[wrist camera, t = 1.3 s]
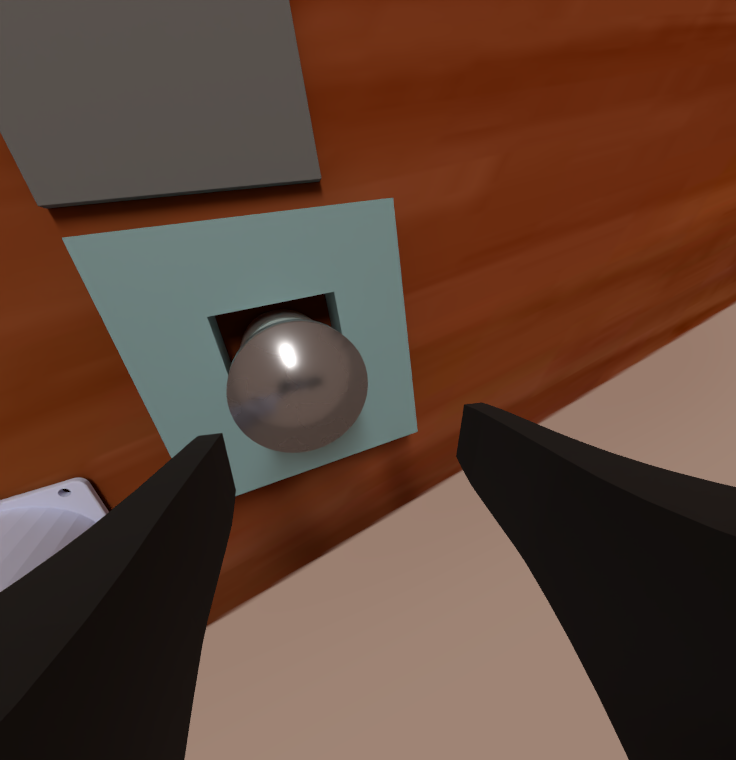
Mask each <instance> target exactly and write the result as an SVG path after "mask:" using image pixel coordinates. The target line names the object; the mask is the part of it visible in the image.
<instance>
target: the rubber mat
mask: <svg viewBox="0 0 736 760" xmlns="http://www.w3.org/2000/svg"><path fill="white" fill-rule="evenodd" d="M0 132H1V134H2V136H3V138H4V140H5V142H6V144H7V146H8V148H9V150H10V152H11V154H12V156H13V158H14V160H15V162H16V164H17V165H18V167H19V169H20V171H21V173H22V175H23V177H24V179H25V181H26V183H27V185H28V187H29V189H30V191H31V193H32V195H33V197H34V199H35V201H36V203H37V205H38V206H40V207H44V208H56V207H66V206H76V205H86V204H97V203H107V202H117V201H127V200H137V199H147V198H157V197H168V196H178V195H188V194H198V193H208V192H218V191H229V190H239V189H249V188H259V187H269V186H279V185H289V184H300V183H310V182H319V181H320V180H321V174H320V169H319V163H318V158H317V152H316V147H315V141H314V136H313V130H312V125H311V119H310V114H309V108H308V103H307V97H306V92H305V86H304V81H303V75H302V70H301V64H300V59H299V53H298V48H297V42H296V37H295V31H294V26H293V20H292V15H291V9H290V4H289V0H0Z"/></svg>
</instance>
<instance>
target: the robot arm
mask: <svg viewBox="0 0 736 760" xmlns="http://www.w3.org/2000/svg"><path fill="white" fill-rule="evenodd" d="M456 457H457V459H458V461H459V463H460V465H461V467H462V469H463V471H464V473H465V475H466V476H467V478H468V480H469V482H470V484H471V485H472V487H473V488H474V490H475V491H476V492H477V494H478V495H479V497H480V498H481V500H482V501H483V502H484V504H485V505H486V507H487V508H488V509H489V511H490V512H491V514H492V515H493V516H494V518H495V519H496V521H497V522H498V523H499V525H500V526H501V528H502V529H503V530H504V532H505V533H506V535H507V536H508V537H509V539H510V540H511V542H512V543H513V544H514V546H515V547H516V549H517V550H518V552H519V553H520V555H521V556H522V558H523V559H524V561H525V562H526V564H527V566H528V567H529V569H530V571H531V572H532V574H533V576H534V578H535V579H536V581H537V582H538V584H539V586H540V588H541V589H542V591H543V593H544V595H545V596H546V598H547V600H548V601H549V603H550V605H551V607H552V609H553V611H554V612H555V614H556V616H557V618H558V620H559V621H560V623H561V625H562V627H563V629H564V631H565V632H566V634H567V636H568V638H569V640H570V642H571V643H572V645H573V647H574V649H575V651H576V653H577V655H578V657H579V659H580V661H581V663H582V665H583V667H584V669H585V670H586V673H587V675H588V676H589V678H590V680H591V682H592V684H593V686H594V688H595V690H596V692H597V694H598V696H599V698H600V700H601V702H602V704H603V706H604V708H605V711H606V712H607V715H608V717H609V719H610V721H611V723H612V725H613V727H614V729H615V732H616V734H617V736H618V738H619V740H620V742H621V744H622V746H623V748H624V750H625V752H626V754H627V757H628V759H629V760H736V487H733V486H728V485H724V484H719V483H715V482H712V481H707V480H704V479H700V478H696V477H692V476H688V475H684V474H680V473H677V472H673V471H669V470H666V469H662V468H659V467H655V466H652V465H648V464H645V463H642V462H639V461H636V460H632V459H629V458H626V457H623V456H620V455H616V454H614V453H611V452H608V451H605V450H602V449H599V448H597V447H594V446H591V445H589V444H586V443H583V442H580V441H578V440H575V439H572V438H570V437H567V436H564V435H562V434H560V433H557V432H554V431H552V430H550V429H547V428H545V427H543V426H540V425H538V424H535V423H533V422H531V421H528V420H526V419H524V418H521V417H519V416H516V415H514V414H512V413H509V412H507V411H504V410H502V409H499V408H496V407H494V406H491V405H488V404H485V403H474V404H466V405H464V410H463V416H462V423H461V429H460V435H459V442H458V448H457V455H456ZM62 489H69V490H70V491H71V492H65V491H63V490H62ZM235 495H236V488H235V484H234V480H233V475H232V471H231V467H230V463H229V459H228V454H227V450H226V446H225V442H224V438H223V434H222V433H217V434H209V435H200V436H197V437H196V438H195V439H193V440H192V441H191V442H190V443H189V444H187V445H186V446H185V447H184V448H183V449H182V450H181V451H180V452H178V453H177V454H176V455H175V456H174V457H173V458H172V459H171V460H170V461H168V462H167V463H166V464H165V465H164V466H163V467H162V468H161V469H159V470H158V471H157V472H156V473H155V474H154V475H153V476H151V477H150V478H149V479H148V480H147V481H146V482H145V483H143V484H142V485H141V486H140V487H139V488H138V489H137V490H135V491H134V492H133V493H132V494H131V495H129V496H128V497H127V498H126V499H124V500H123V501H122V502H121V503H120V504H118V505H117V506H116V507H115V508H113V509H112V510H111V511H110V512H109V511H108V510H107V508H106V507H105V505H104V503H103V502H102V500H101V499H100V497H99V496H98V494H97V493H96V491H95V490H94V488H93V487H92V485H91V484H90V482H89V481H88V480H87V479H84V478H73V479H70V480H66V481H63V482H60V483H56V484H53V485H50V486H46V487H43V488H40V489H36V490H33V491H30V492H26V493H23V494H19V495H16V496H13V497H9V498H6V499H3V500H0V760H184V758H185V751H186V745H187V737H188V731H189V724H190V717H191V711H192V704H193V697H194V692H195V686H196V680H197V674H198V667H199V662H200V656H201V650H202V644H203V639H204V634H205V630H206V625H207V621H208V616H209V613H210V609H211V605H212V601H213V597H214V593H215V589H216V585H217V581H218V578H219V574H220V570H221V566H222V562H223V558H224V554H225V550H226V546H227V542H228V538H229V534H230V530H231V526H232V519H233V512H234V504H235Z"/></svg>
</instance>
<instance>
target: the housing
mask: <svg viewBox="0 0 736 760" xmlns="http://www.w3.org/2000/svg"><path fill="white" fill-rule="evenodd" d="M62 240H63V242H64V244H65V246H66V248H67V250H68V252H69V254H70V256H71V258H72V260H73V262H74V264H75V266H76V268H77V270H78V272H79V274H80V276H81V278H82V280H83V282H84V284H85V286H86V288H87V290H88V292H89V294H90V296H91V298H92V300H93V302H94V304H95V306H96V308H97V310H98V312H99V314H100V316H101V318H102V320H103V322H104V324H105V326H106V328H107V330H108V332H109V334H110V336H111V338H112V340H113V342H114V344H115V346H116V348H117V350H118V352H119V354H120V356H121V358H122V360H123V362H124V364H125V366H126V368H127V370H128V372H129V374H130V376H131V378H132V380H133V382H134V384H135V386H136V388H137V390H138V392H139V394H140V396H141V398H142V400H143V402H144V404H145V406H146V408H147V410H148V412H149V414H150V416H151V418H152V420H153V422H154V424H155V426H156V428H157V430H158V432H159V434H160V436H161V438H162V440H163V442H164V444H165V446H166V448H167V450H168V452H169V454H170V456H171V458H173V457H174V456H175V455H176V454H177V453H178V452H180V451H181V450H182V449H183V448H184V447H185V446H186V445H187V444H189V443H190V442H191V441H192V440H193V439H195V438H196V437H197V436H200V435H209V434H217V433H222V434H223V438H224V442H225V446H226V450H227V454H228V459H229V463H230V467H231V471H232V475H233V480H234V484H235V488H236V495H235V496H237V495H240V494H243V493H246V492H249V491H251V490H254V489H257V488H260V487H263V486H266V485H268V484H271V483H274V482H277V481H280V480H283V479H285V478H288V477H291V476H294V475H297V474H299V473H302V472H305V471H308V470H311V469H314V468H316V467H319V466H322V465H325V464H328V463H330V462H333V461H336V460H339V459H342V458H345V457H347V456H350V455H353V454H356V453H359V452H362V451H364V450H367V449H370V448H373V447H376V446H378V445H381V444H384V443H387V442H390V441H393V440H395V439H398V438H401V437H404V436H407V435H410V434H412V433H415V432H418V431H417V422H416V412H415V403H414V393H413V384H412V374H411V365H410V355H409V346H408V336H407V327H406V317H405V308H404V298H403V289H402V279H401V269H400V260H399V250H398V241H397V231H396V222H395V212H394V203H393V198H387V199H379V200H370V201H362V202H354V203H346V204H337V205H329V206H321V207H312V208H304V209H296V210H288V211H279V212H271V213H263V214H255V215H246V216H238V217H230V218H222V219H213V220H205V221H197V222H189V223H180V224H172V225H164V226H156V227H147V228H139V229H131V230H123V231H114V232H106V233H98V234H89V235H81V236H73V237H65V238H62ZM320 294H325V297H326V302H327V307H328V312H329V317H330V322H331V327H332V328H333V329H335V330H337V331H338V332H340V333H341V334H342V335H344V336H345V337H346V338H347V339H348V340H349V341H350V342H351V343H352V344H353V345H354V346H355V347H356V349H357V350H358V351H359V353H360V355H361V357H362V358H363V361H364V364H365V366H366V371H367V377H368V391H367V397H366V400H365V404H364V406H363V409H362V411H361V413H360V415H359V416H358V418H357V420H356V421H355V422H354V424H353V425H352V426H351V427H350V428H349V429H348V430H347V431H346V432H345V433H344V434H343V435H342V436H341V437H339V438H338V439H336V440H335V441H333V442H332V443H330V444H328V445H326V446H323V447H321V448H318V449H315V450H311V451H307V452H299V453H287V452H279V451H274V450H271V449H268V448H265V447H263V446H261V445H259V444H257V443H256V442H254V441H252V440H251V439H250V438H249V437H247V436H246V435H245V434H244V433H243V432H242V431H241V430H240V428H239V427H238V426H237V424H236V423H235V421H234V419H233V417H232V415H231V413H230V410H229V407H228V403H227V395H226V391H227V380H228V375H229V370H230V367H231V361H230V358H229V355H228V352H227V350H226V347H225V344H224V341H223V338H222V335H221V333H220V330H219V327H218V324H217V321H216V318H215V315H220V314H225V313H230V312H235V311H240V310H245V309H250V308H255V307H260V306H265V305H270V304H275V303H280V302H285V301H290V300H295V299H300V298H305V297H310V296H315V295H320Z"/></svg>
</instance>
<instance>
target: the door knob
mask: <svg viewBox="0 0 736 760" xmlns="http://www.w3.org/2000/svg"><path fill="white" fill-rule="evenodd" d="M367 391H368V377H367V371H366V366H365V364H364V361H363V358H362V357H361V355H360V353H359V351H358V350H357V349H356V347H355V346H354V345H353V344H352V343H351V342H350V341H349V340H348V339H347V338H346V337H345V336H344V335H342V334H341V333H340V332H338V331H337V330H335V329H333V328H332V327H330V326H328V325H326V324H323V323H321V322H317V321H313V320H312V319H310V318H309V317H308V316H306V315H304V314H303V313H300V312H298V311H294V310H290V309H276V310H271V311H268V312H265V313H263V314H261V315H260V316H258V317H257V318H255V319H254V320H253V321H252V322H251V323H250V324H249V325H248V327H247V328H246V330H245V332H244V334H243V337H242V340H241V346H240V349H239V350H238V352H237V353H236V355H235V357H234V359H233V361H232V364H231V367H230V370H229V375H228V380H227V391H226V395H227V403H228V407H229V410H230V413H231V415H232V417H233V419H234V421H235V423H236V424H237V426H238V427H239V428H240V430H241V431H242V432H243V433H244V434H245V435H246V436H247V437H249V438H250V439H251V440H252V441H254V442H256V443H257V444H259V445H261V446H263V447H265V448H268V449H271V450H274V451H279V452H287V453H299V452H307V451H311V450H315V449H318V448H321V447H323V446H326V445H328V444H330V443H332V442H333V441H335V440H336V439H338V438H339V437H341V436H342V435H343V434H344V433H345V432H346V431H347V430H348V429H349V428H350V427H351V426H352V425H353V424H354V422H355V421H356V420H357V418H358V416H359V415H360V413H361V411H362V409H363V406H364V404H365V400H366V397H367Z"/></svg>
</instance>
